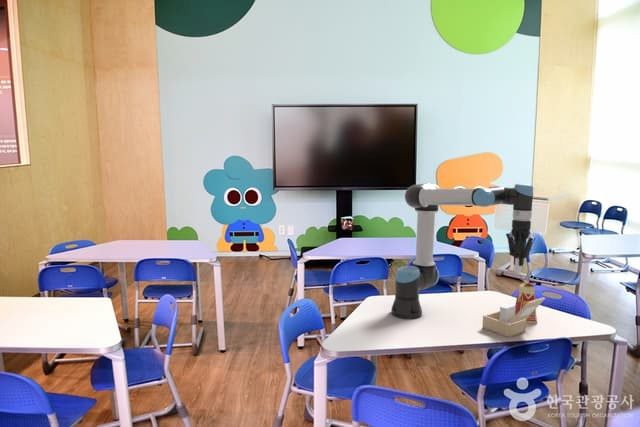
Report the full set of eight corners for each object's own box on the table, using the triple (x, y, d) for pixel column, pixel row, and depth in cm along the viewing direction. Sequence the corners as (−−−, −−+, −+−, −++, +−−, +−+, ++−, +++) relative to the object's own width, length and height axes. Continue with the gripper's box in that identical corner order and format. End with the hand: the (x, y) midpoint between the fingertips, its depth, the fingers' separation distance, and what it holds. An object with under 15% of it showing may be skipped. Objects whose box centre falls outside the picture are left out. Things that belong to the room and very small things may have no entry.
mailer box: (482, 328, 224) (483, 303, 222) (498, 323, 231) (499, 299, 229) (509, 337, 212) (510, 312, 211) (525, 332, 219) (526, 307, 218)
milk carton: (537, 323, 231) (540, 282, 228) (516, 321, 232) (519, 281, 230) (533, 316, 239) (535, 277, 237) (513, 315, 241) (515, 276, 239)
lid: (527, 301, 204) (529, 303, 203) (543, 297, 210) (545, 298, 210) (509, 322, 212) (510, 324, 211) (525, 317, 218) (526, 318, 218)
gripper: (503, 218, 213) (499, 270, 217) (530, 222, 203) (526, 277, 206) (513, 217, 217) (509, 268, 221) (540, 221, 207) (536, 274, 210)
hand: (517, 272), depth 213 cm, fingers closed
